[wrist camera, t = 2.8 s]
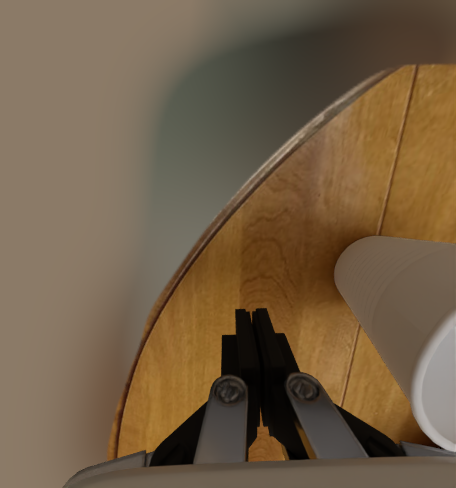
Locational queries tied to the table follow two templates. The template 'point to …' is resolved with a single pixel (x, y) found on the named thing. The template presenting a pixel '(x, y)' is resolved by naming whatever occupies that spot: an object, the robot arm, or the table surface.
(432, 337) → the cup
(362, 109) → the table surface
